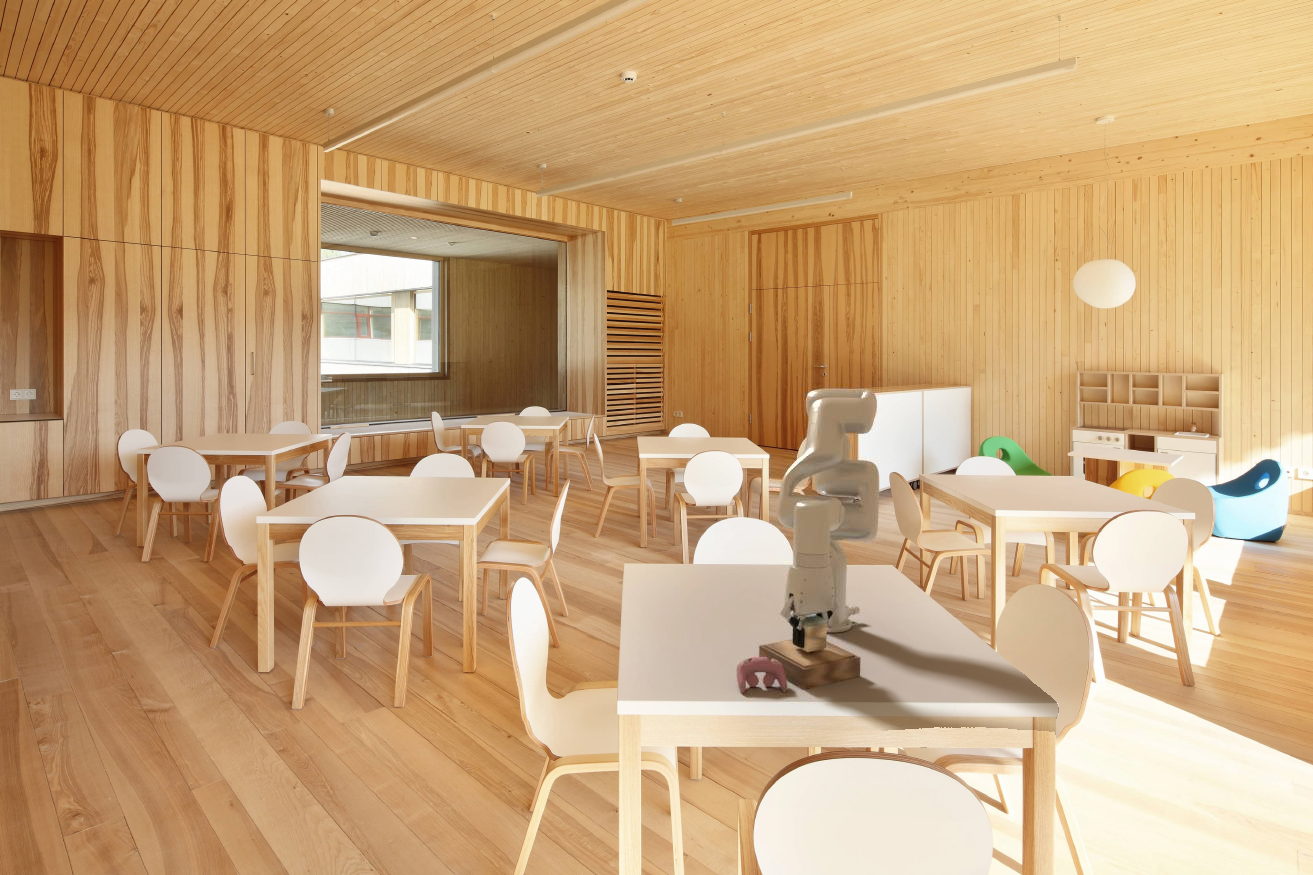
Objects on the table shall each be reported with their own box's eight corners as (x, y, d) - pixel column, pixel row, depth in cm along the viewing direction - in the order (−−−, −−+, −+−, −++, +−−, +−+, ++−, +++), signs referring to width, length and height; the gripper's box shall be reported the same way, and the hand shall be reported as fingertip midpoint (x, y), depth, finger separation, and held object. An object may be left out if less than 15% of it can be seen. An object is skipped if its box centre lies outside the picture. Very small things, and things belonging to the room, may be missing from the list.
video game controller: (784, 693, 146) (781, 657, 148) (789, 691, 141) (786, 654, 144) (735, 694, 145) (733, 658, 148) (739, 692, 141) (737, 655, 143)
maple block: (810, 640, 157) (811, 613, 156) (826, 648, 152) (827, 619, 152) (792, 644, 154) (792, 616, 154) (807, 652, 150) (808, 623, 149)
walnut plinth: (812, 652, 164) (813, 633, 164) (859, 675, 151) (860, 655, 150) (758, 663, 157) (759, 644, 157) (803, 689, 144) (803, 668, 143)
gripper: (830, 552, 159) (828, 632, 161) (767, 560, 152) (765, 644, 153) (854, 559, 153) (851, 643, 154) (790, 567, 145) (788, 656, 146)
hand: (809, 642), depth 153 cm, fingers closed on maple block, 5 cm apart
